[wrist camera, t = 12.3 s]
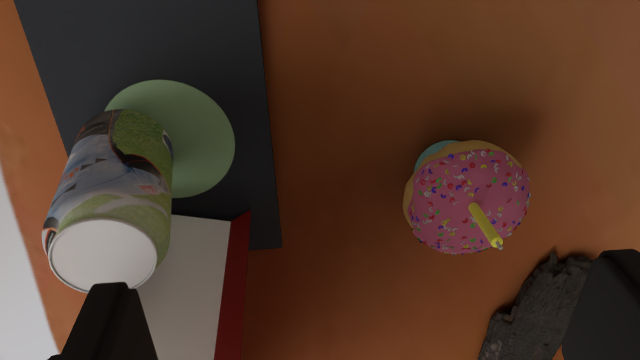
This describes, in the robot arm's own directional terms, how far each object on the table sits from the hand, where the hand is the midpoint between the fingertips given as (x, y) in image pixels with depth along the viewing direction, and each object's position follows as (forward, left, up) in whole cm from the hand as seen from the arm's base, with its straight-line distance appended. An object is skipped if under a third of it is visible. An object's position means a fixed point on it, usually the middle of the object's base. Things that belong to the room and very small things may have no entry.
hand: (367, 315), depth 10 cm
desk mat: (+7, -10, -24) cm, 27 cm away
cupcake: (+11, +10, -24) cm, 29 cm away
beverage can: (+7, -12, -24) cm, 27 cm away
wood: (+31, +19, -24) cm, 44 cm away
